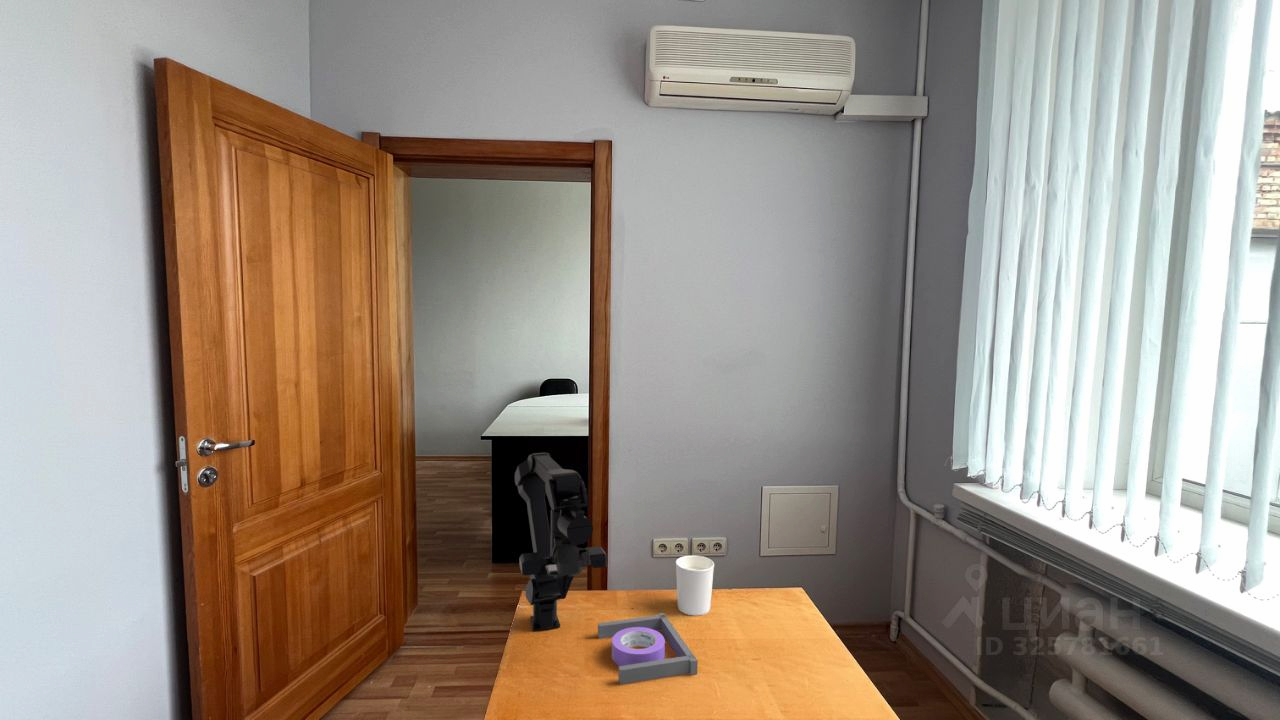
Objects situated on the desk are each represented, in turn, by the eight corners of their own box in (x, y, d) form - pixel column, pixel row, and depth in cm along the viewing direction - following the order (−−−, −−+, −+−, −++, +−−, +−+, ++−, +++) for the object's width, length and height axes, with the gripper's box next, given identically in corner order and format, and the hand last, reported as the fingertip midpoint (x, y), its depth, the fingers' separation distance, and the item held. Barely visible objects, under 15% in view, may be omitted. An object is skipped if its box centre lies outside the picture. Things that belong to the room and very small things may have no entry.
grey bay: (597, 634, 144) (597, 621, 144) (663, 624, 149) (663, 613, 149) (621, 686, 124) (621, 672, 124) (697, 674, 129) (697, 660, 129)
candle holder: (711, 619, 153) (712, 572, 152) (672, 614, 154) (673, 568, 154) (714, 601, 162) (715, 557, 161) (677, 597, 164) (678, 553, 163)
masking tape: (603, 649, 138) (603, 632, 138) (650, 638, 143) (650, 622, 143) (624, 676, 128) (625, 658, 128) (674, 663, 133) (674, 646, 133)
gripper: (525, 546, 125) (524, 620, 126) (614, 538, 130) (613, 609, 131) (519, 528, 136) (519, 596, 137) (601, 521, 141) (600, 587, 142)
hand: (563, 597), depth 136 cm, fingers closed
